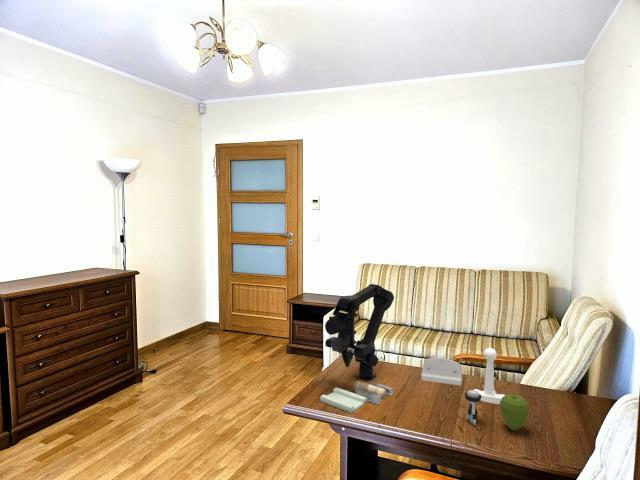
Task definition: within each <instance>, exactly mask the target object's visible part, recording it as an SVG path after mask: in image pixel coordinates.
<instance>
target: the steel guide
mask: <svg viewBox="0 0 640 480" xmlns="http://www.w3.org/2000/svg"><path fill="white" fill-rule="evenodd" d="M367 384H370V385H373V386H377V387H380V388H383V389H385V391H386V395H385V396H389V397H391V396H393V394H394V387H392V386H391V387H390V386H387V385H384V384H381V383H378V382H374V381H372V380H371V381H370V380H369V382H368V383H367ZM355 394H357V395H360V396H363V397H366V398H367V402H370V403H371V404H375V405H377V406H378V405H380V404H381V403H382V400H381V396H379V395H376V394H373V393H370V392H367V391H364V390H361V389H357V390H356V391H355Z"/></svg>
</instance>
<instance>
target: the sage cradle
mask: <svg viewBox="0 0 640 480" xmlns="http://www.w3.org/2000/svg"><path fill="white" fill-rule="evenodd" d="M319 399H320V403H323V404H326V405H328V406H331V407H334V408H336V409H339V410H341V411H344V412H347V413H350V414H352V413H354V412H355V411H357V410H358V409H360V408H361V407H363V406H364V405H365V404H367V403H368V401H367V398H366V397H363V396H360V395H357V394H356V393H354V392H351V391H349V390H346V389H343V388H339V387H334V388H333V391H332V392H331V393H329V394H322V395H321V396H320V398H319Z"/></svg>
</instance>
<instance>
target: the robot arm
mask: <svg viewBox="0 0 640 480" xmlns="http://www.w3.org/2000/svg"><path fill="white" fill-rule="evenodd" d="M370 299H372V304H373V309H372V312H371V316H370V318H369V320H368V324H367V326H366V329H365V332H364V334H363V335H364V336H363V337H362V339H361V340H355V334H357V330H355V318H356V317H358V314H357V313H356V312H357V311H358V310H359V309H360V307H361V305H362V304H364V303H366V302H367V301H369V300H370ZM394 300H395V296H394V293H393V292H392V291H391V290H387V289H385V288H384V287H382V286H381V285H379V284H377V283H371V284H368V285H367V286H366V287H364V288H363V289H361V290H359V291H357V292H356V293H354V294H352V295H344V296H341V297H340V298H339V299H338V301H337V303H336V306H335V308H334V310H333V312H332V315H333V316H332V315H331V316H328V320H326V321H325V324H324V329H325V331H326V333H327V334H328V335H330V336H331V335H332V337H329V338H327V339H326V340H325V342H324V343H325V347H327V348H331V351H332V352H337V353H339V354H340V355H341V358H342V361H343V363H344V365H345V367H346V368H349V367H350V365H351V362H352V360H353V358H354V360H355V362H357V363H359V366H358V369H359V370H358V372H359V373H358V374H357V375H356V378H359V379H362V380H366V381H369V382H370V380H371V381H372V380H373V379H374V378H376V377H377V374H376V373H374V372H375V370H374V369H375V367H376V366H377V365H378V364H379V358H378V356H377V355H376V347H375V346H376V345H375V341H376V338H377V335H378V332H379V331H380V330H379V329H380V326H381V324H382V321H383V319H384V315H385V313H386V311H388V310H389V309H390V308H391V307H392V304H393V302H394ZM336 334H337V337H335V336H333V335H336Z"/></svg>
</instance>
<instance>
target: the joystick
mask: <svg viewBox="0 0 640 480" xmlns="http://www.w3.org/2000/svg"><path fill="white" fill-rule="evenodd" d="M483 356H484V358H485V359H486V366H485V377H484V387H483V388H484V389H483V390H480V389H476V388H474V389H473V390H476V391H478V392H479V394H481V401H480V402H483V403H484V402H485V403H489V404H493V405H494V404H495V405H500V401H501V399H502V397H503V396H505V395H506V394H501V393H499V394H498V393H497V392H496V390H495V382H494V380H495V379H494V377H495V376H494V375H495V374H494V373H495V372H494V371H495V370H494V361H495V360H496V358H497V357H498V353H497V351H496V350H495V349H494V348H493V347H492V348H491V347H487V348H486V349H485V350H484V352H483Z"/></svg>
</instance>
